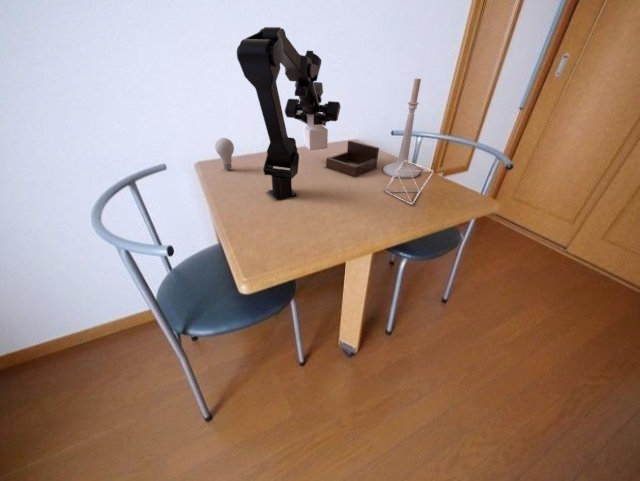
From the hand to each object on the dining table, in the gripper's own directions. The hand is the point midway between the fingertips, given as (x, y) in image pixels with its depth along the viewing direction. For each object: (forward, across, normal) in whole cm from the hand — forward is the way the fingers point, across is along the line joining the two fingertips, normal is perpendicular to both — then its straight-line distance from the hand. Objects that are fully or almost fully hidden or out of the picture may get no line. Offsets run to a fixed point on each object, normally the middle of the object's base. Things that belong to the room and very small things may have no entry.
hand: (317, 124), depth 106 cm
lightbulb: (-6, +26, +25) cm, 37 cm away
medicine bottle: (+4, 0, +7) cm, 8 cm away
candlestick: (+8, -33, +11) cm, 36 cm away
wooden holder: (+6, -15, +12) cm, 21 cm away
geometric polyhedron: (-7, -36, +26) cm, 45 cm away
